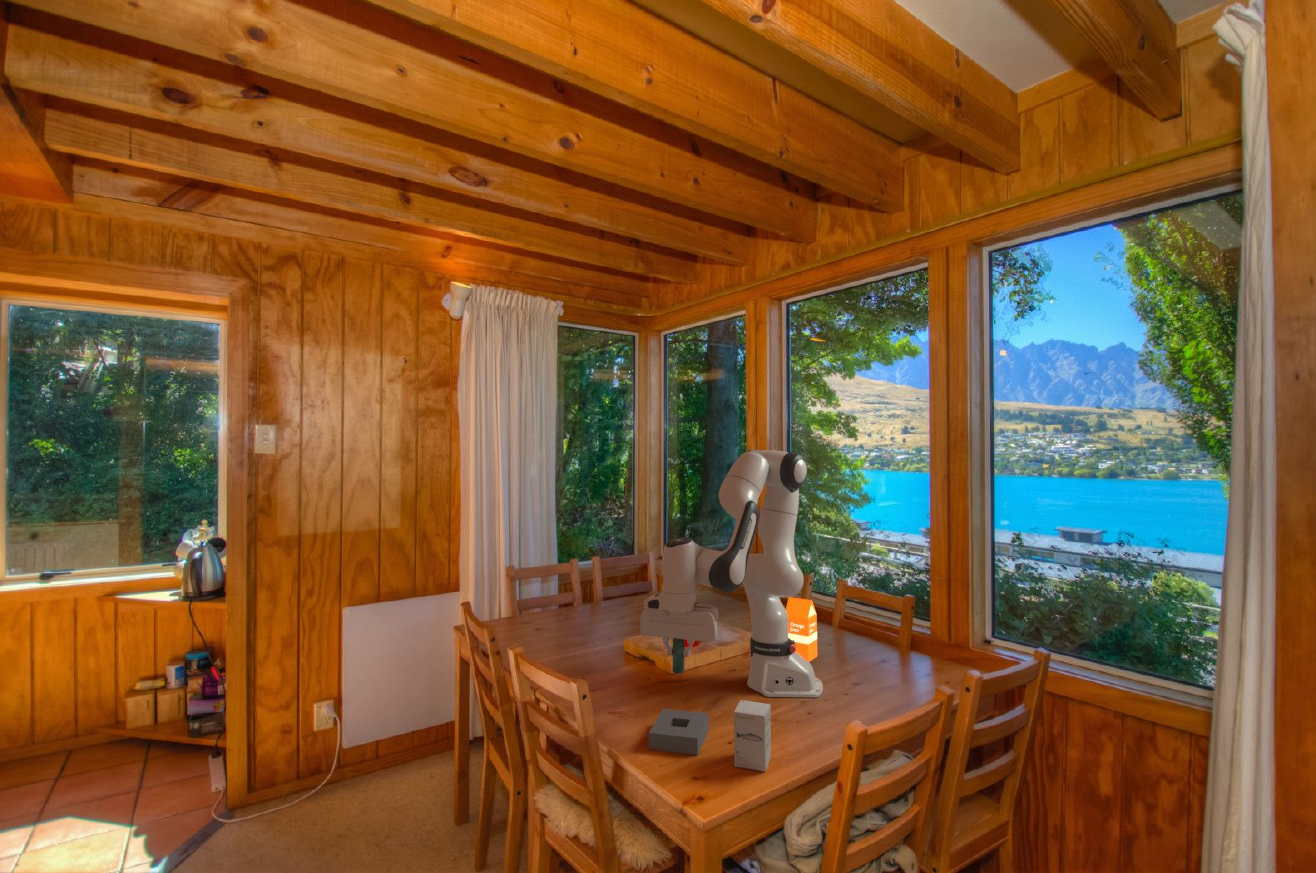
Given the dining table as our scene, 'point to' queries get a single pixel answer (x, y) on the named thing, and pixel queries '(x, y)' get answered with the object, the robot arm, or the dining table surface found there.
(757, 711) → the supplement box
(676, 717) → the hole block
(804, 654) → the orange juice
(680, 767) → the dining table surface
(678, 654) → the teal peg
